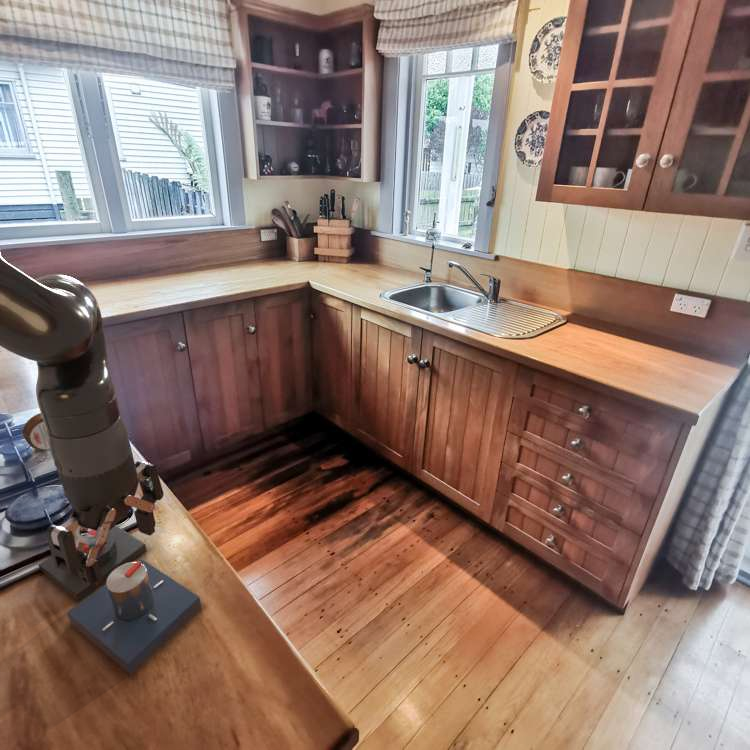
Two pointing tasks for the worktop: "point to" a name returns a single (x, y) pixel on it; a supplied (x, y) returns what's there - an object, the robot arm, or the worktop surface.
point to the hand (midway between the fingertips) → (122, 555)
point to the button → (93, 535)
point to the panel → (136, 620)
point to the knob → (130, 590)
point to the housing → (110, 557)
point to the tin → (36, 433)
